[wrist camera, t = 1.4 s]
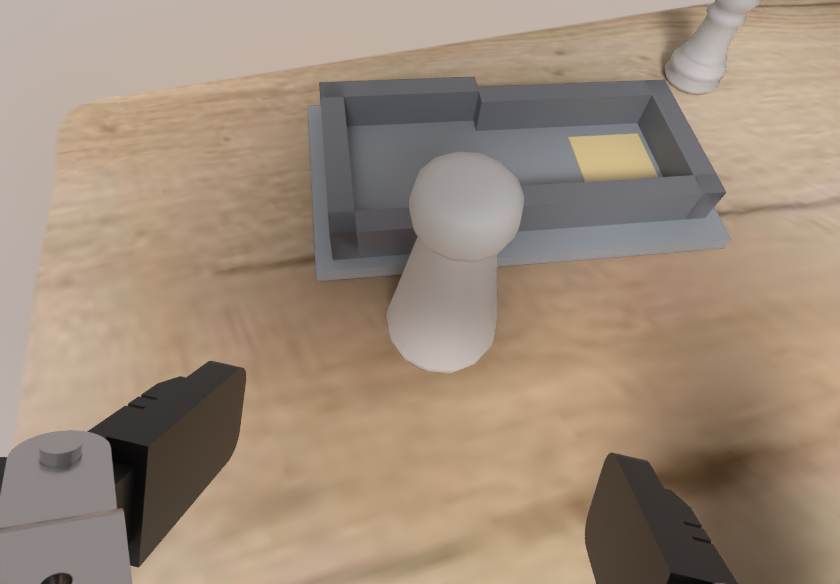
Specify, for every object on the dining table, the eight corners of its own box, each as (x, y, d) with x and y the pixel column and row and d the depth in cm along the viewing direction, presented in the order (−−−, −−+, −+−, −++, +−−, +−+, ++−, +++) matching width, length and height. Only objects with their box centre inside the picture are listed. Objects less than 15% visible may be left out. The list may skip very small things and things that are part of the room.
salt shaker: (379, 301, 32) (380, 129, 21) (475, 289, 33) (524, 118, 22) (395, 395, 29) (405, 255, 18) (499, 380, 30) (571, 237, 19)
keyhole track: (317, 281, 32) (311, 246, 29) (309, 116, 39) (303, 75, 36) (722, 248, 36) (754, 214, 33) (648, 101, 43) (668, 62, 40)
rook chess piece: (728, 89, 44) (792, -9, 37) (686, 103, 43) (745, 5, 36) (691, 56, 46) (746, -43, 39) (650, 68, 45) (699, -31, 38)
